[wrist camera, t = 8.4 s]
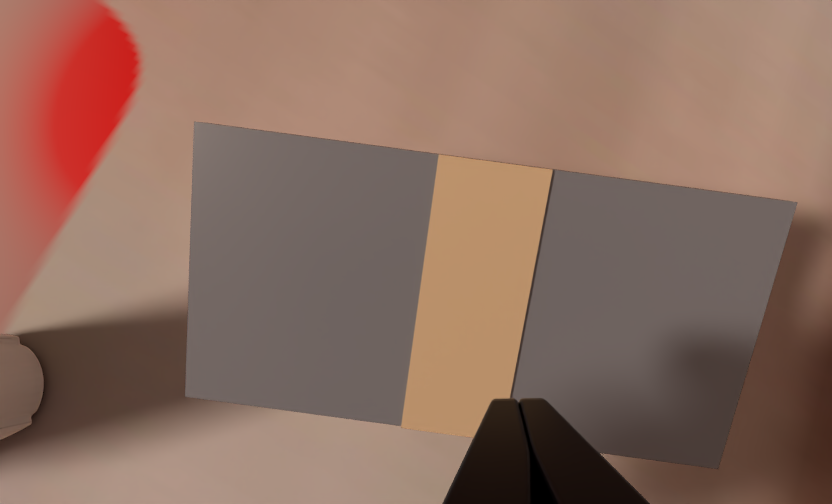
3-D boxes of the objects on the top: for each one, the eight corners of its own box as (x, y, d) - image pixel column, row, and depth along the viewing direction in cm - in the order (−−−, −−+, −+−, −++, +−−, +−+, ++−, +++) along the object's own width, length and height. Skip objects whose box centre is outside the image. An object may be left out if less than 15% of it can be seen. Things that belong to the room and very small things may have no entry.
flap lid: (703, 452, 15) (720, 471, 15) (197, 383, 15) (183, 398, 15) (776, 199, 14) (800, 202, 13) (207, 123, 14) (192, 121, 13)
